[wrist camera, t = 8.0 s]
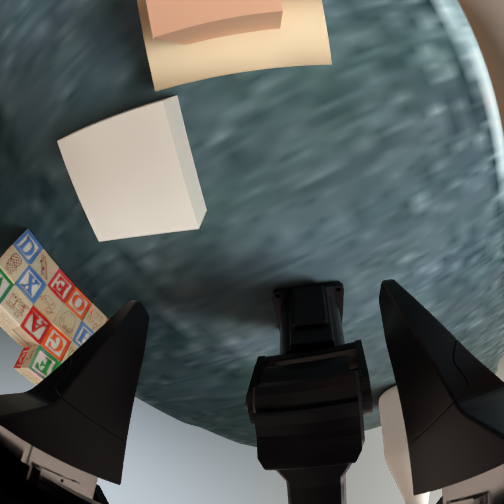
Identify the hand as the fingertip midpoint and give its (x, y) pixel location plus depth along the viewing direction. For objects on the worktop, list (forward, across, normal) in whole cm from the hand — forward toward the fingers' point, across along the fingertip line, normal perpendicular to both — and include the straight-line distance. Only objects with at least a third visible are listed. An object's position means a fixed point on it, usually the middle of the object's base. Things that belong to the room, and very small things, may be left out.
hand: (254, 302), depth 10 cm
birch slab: (+12, 0, -12) cm, 17 cm away
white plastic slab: (+12, +9, -2) cm, 16 cm away
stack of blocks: (+12, +27, +11) cm, 31 cm away
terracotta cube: (+9, 0, -12) cm, 15 cm away
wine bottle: (+13, -18, +40) cm, 46 cm away
